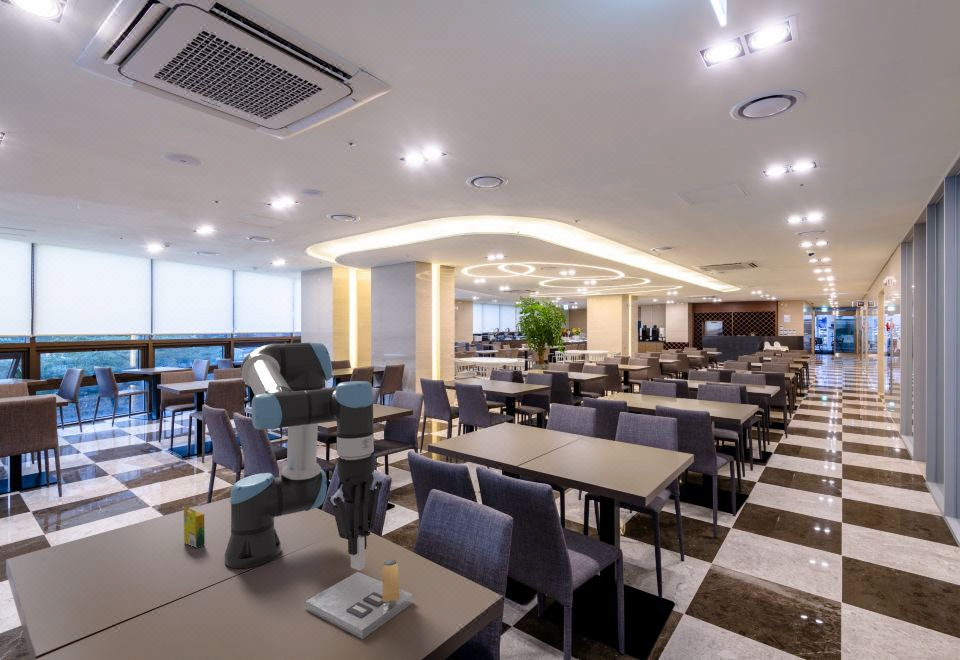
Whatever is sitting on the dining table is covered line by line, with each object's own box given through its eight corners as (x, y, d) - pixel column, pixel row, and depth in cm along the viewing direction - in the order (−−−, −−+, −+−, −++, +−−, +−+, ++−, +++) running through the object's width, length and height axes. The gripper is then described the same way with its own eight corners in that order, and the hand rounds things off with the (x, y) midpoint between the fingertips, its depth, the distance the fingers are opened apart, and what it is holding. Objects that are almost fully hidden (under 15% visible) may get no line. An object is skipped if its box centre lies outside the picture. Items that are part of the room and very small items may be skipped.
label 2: (363, 600, 110) (362, 598, 110) (373, 593, 113) (373, 591, 113) (377, 606, 107) (377, 605, 107) (388, 599, 110) (388, 597, 110)
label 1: (346, 610, 106) (346, 609, 106) (358, 603, 109) (358, 601, 109) (361, 617, 103) (361, 616, 103) (372, 610, 106) (372, 608, 106)
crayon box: (205, 545, 146) (204, 508, 146) (195, 548, 143) (194, 511, 143) (193, 539, 150) (192, 504, 150) (183, 543, 147) (183, 506, 147)
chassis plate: (305, 609, 110) (305, 601, 110) (357, 579, 123) (357, 571, 123) (362, 639, 99) (362, 630, 99) (412, 602, 112) (412, 594, 112)
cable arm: (383, 566, 115) (382, 560, 115) (397, 565, 116) (397, 558, 116) (382, 602, 100) (382, 594, 100) (399, 599, 101) (399, 592, 101)
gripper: (342, 465, 89) (344, 587, 89) (390, 450, 100) (392, 559, 100) (318, 460, 93) (320, 576, 93) (367, 446, 104) (369, 550, 104)
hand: (357, 567), depth 96 cm, fingers closed
